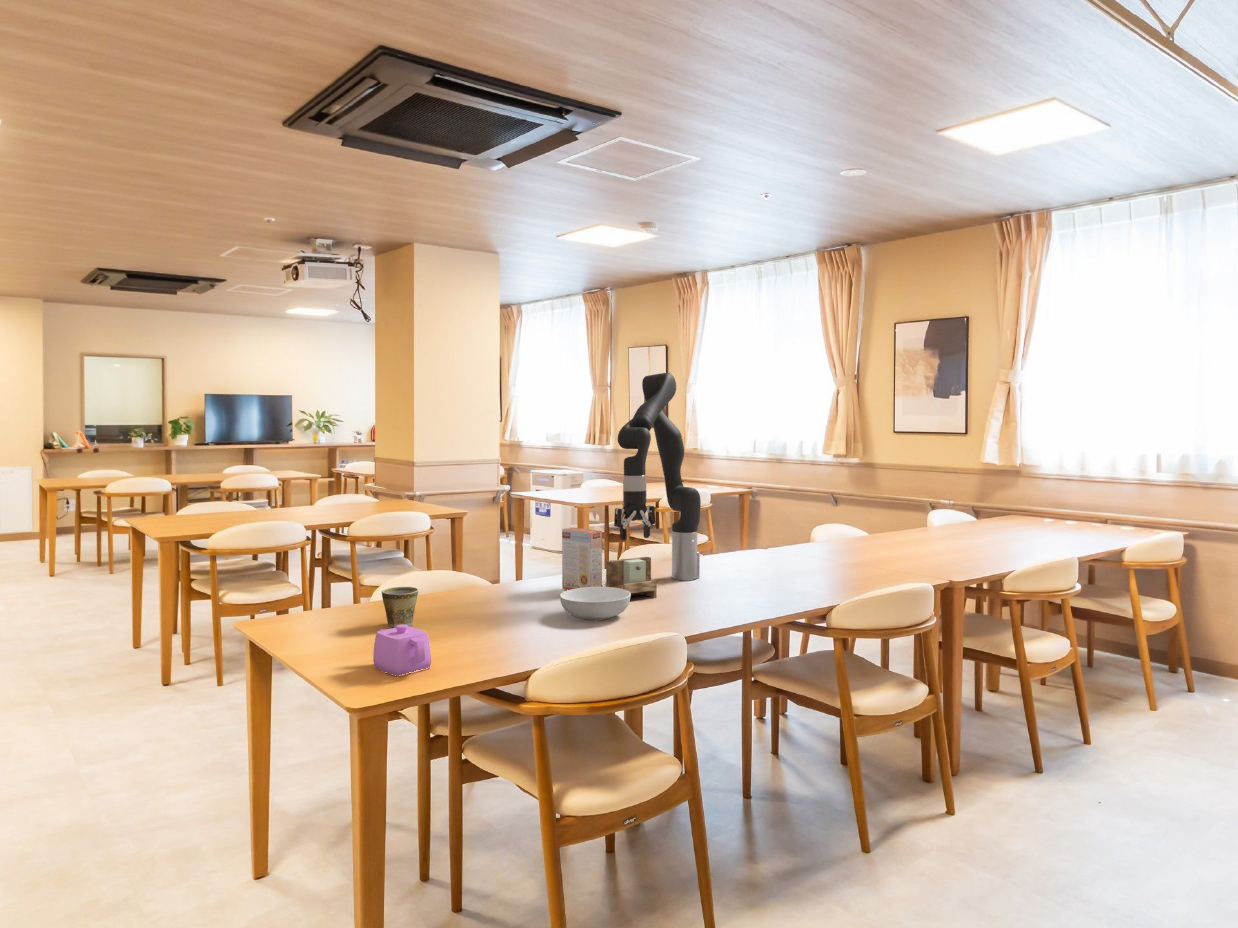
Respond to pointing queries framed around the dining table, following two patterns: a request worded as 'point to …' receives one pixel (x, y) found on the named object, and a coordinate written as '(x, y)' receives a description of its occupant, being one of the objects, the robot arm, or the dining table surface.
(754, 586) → the dining table surface
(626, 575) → the cabinet block
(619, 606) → the serving bowl
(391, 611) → the ceramic cup
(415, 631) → the teapot
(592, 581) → the cracker box
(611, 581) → the wooden stand
